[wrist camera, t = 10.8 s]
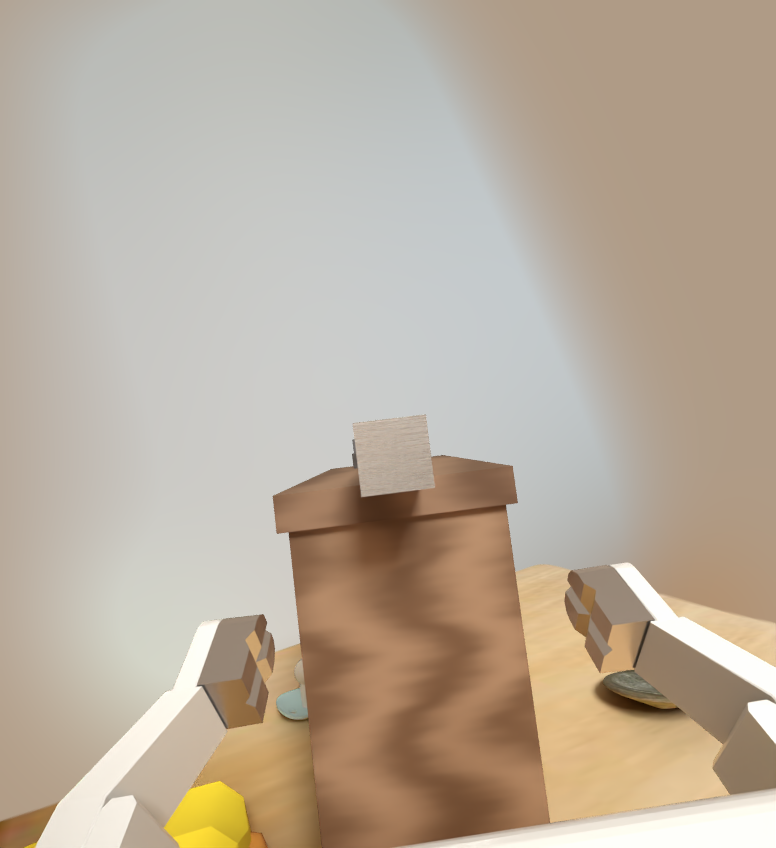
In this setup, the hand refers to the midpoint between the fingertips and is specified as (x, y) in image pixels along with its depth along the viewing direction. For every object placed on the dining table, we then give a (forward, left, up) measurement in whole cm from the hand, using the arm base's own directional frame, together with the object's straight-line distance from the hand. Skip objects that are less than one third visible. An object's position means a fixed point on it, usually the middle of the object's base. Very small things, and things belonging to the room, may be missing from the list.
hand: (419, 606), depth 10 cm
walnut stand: (0, +21, -24) cm, 32 cm away
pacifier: (-12, +33, -24) cm, 43 cm away
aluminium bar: (0, +17, +2) cm, 18 cm away
